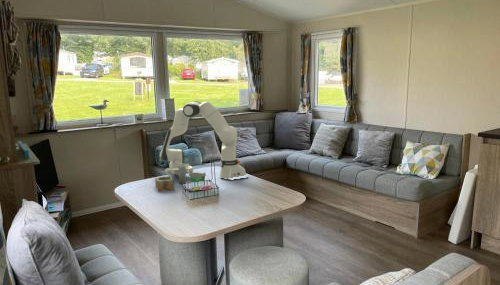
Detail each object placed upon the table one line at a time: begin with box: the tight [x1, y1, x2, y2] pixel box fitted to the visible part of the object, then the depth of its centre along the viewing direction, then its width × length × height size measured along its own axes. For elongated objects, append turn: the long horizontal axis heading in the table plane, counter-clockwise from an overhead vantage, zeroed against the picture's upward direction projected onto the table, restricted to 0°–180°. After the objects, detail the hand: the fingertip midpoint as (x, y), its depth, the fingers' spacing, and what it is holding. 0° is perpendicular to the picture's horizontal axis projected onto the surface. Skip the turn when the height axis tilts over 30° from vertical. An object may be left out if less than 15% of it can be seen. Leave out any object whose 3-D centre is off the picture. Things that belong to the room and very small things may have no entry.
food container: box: [188, 171, 207, 183], centre depth 257 cm, size 12×6×10 cm, turn 73°
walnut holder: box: [154, 175, 175, 192], centre depth 254 cm, size 10×14×6 cm
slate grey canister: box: [178, 166, 187, 185], centre depth 265 cm, size 5×5×12 cm
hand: (181, 173), depth 269 cm, fingers open, 8 cm apart
